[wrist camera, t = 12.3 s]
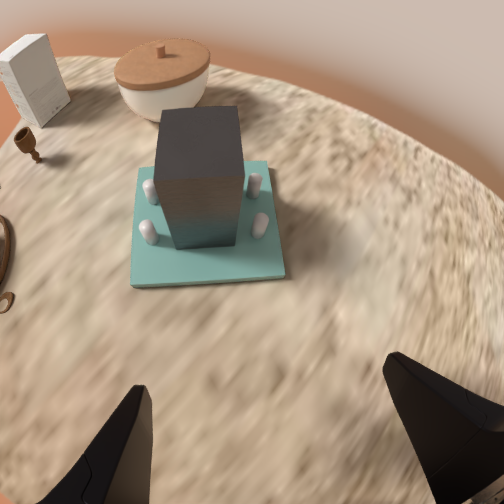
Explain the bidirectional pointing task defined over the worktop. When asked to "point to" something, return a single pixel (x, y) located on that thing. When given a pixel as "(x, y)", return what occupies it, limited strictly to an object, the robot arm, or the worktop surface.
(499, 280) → the worktop surface
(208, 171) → the plate
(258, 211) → the pin tray
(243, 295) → the worktop surface
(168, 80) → the lidded jar
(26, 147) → the place setting
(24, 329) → the worktop surface
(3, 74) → the small box
